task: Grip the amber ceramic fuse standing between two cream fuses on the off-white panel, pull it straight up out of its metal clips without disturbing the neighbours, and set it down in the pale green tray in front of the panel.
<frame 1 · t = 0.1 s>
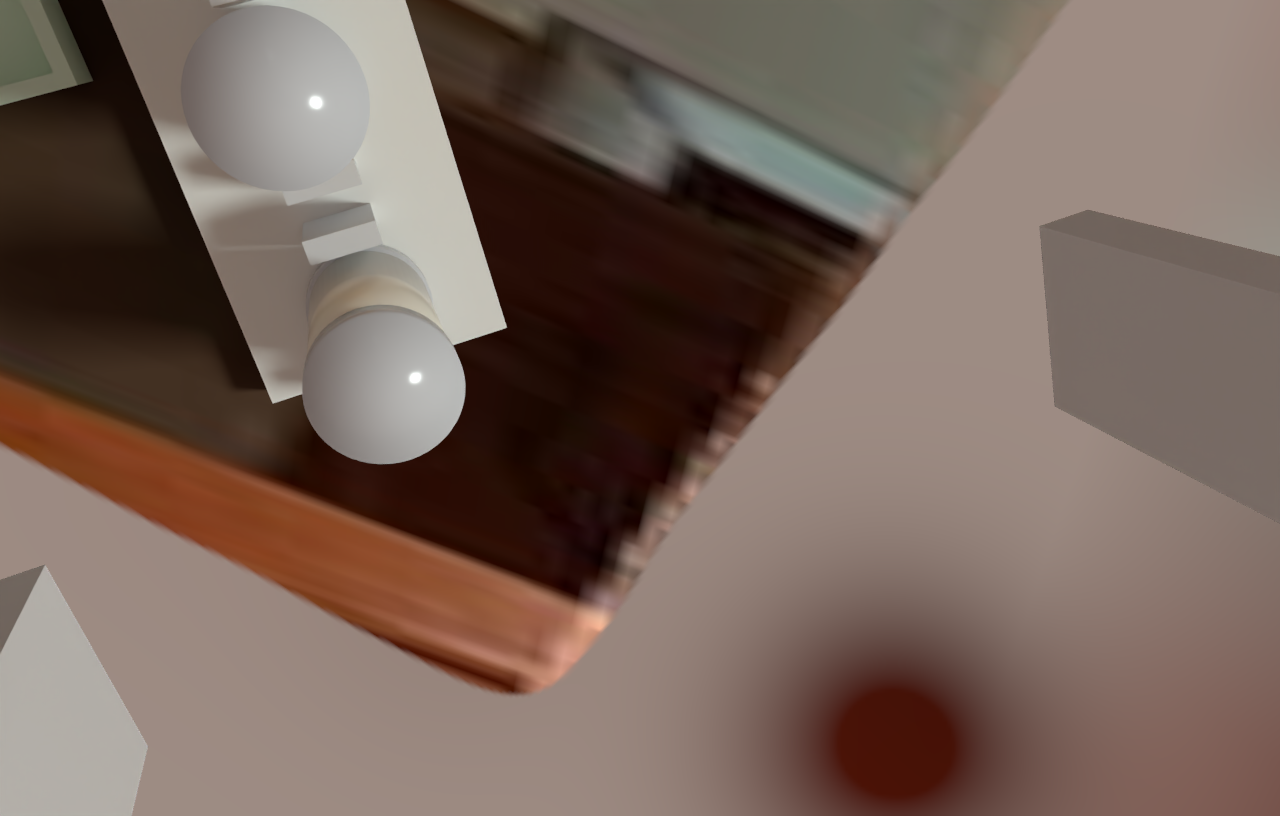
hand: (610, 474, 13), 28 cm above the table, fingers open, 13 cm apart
fuse panel: (289, 78, 36), on the table
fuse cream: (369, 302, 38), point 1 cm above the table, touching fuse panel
fuse amber: (288, 80, 35), point 1 cm above the table, touching fuse panel
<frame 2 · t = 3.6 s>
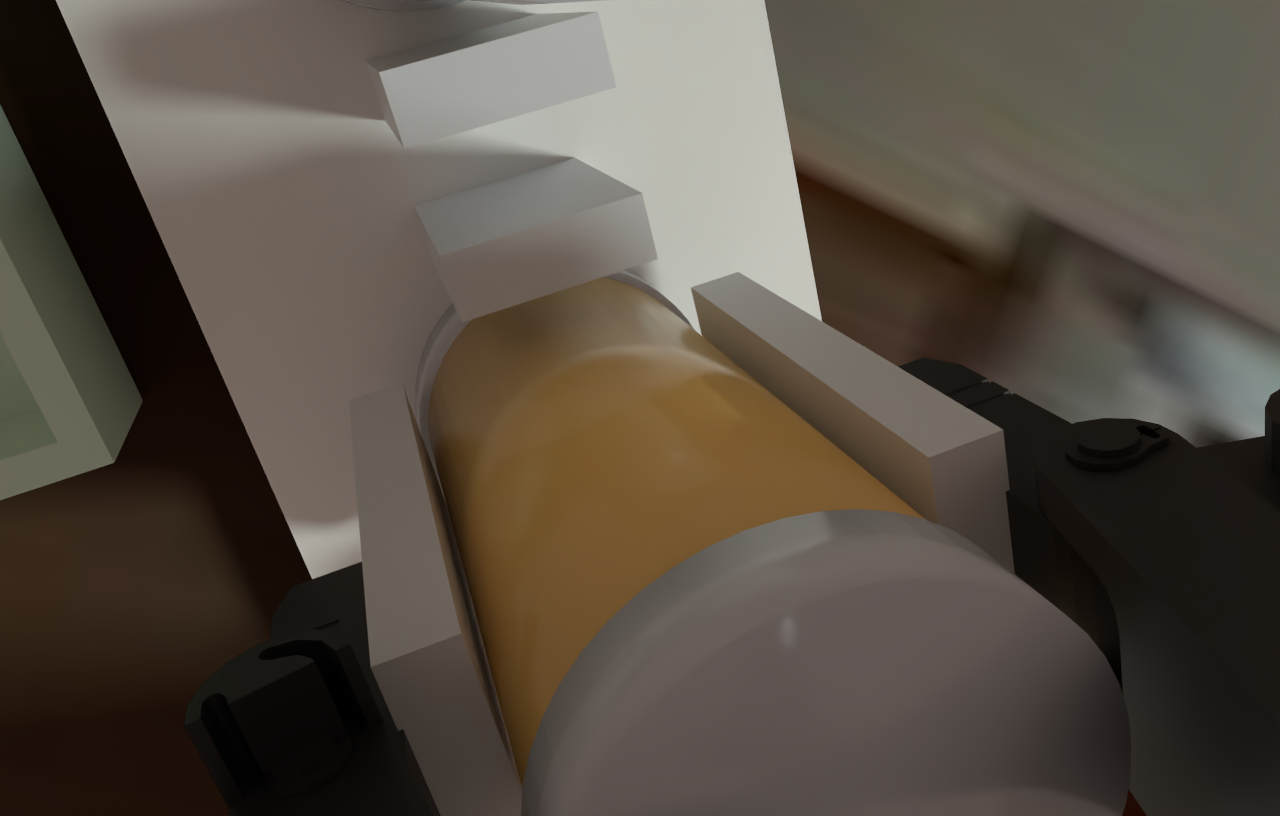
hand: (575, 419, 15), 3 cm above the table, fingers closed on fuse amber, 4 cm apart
fuse panel: (540, 364, 18), on the table
fuse amber: (558, 393, 16), point 2 cm above the table, touching fuse panel, gripper
when the fingers open (3 cm above the table, at t = 11.5 s): fuse amber drops 2 cm, resting on tray.
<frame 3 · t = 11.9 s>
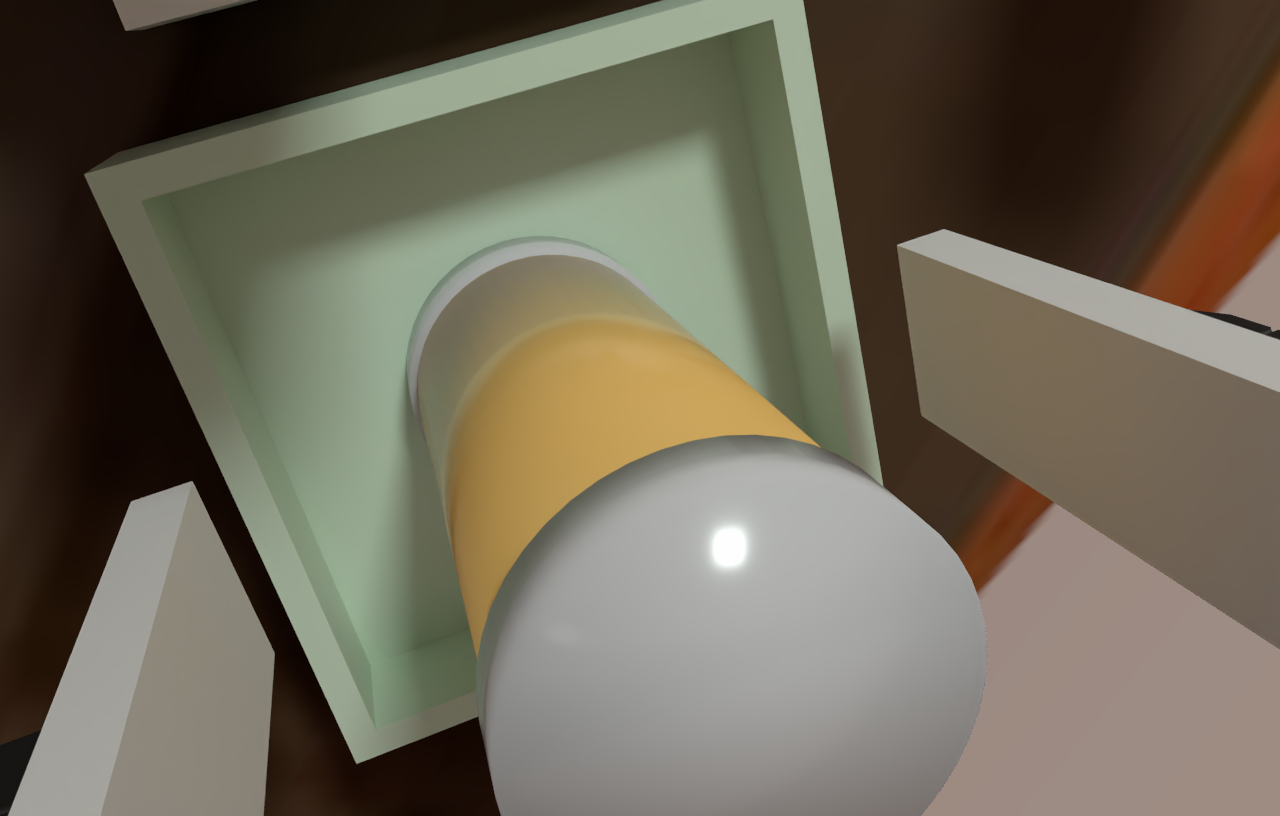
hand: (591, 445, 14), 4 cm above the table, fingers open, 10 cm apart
tray: (531, 351, 18), on the table
fuse amber: (538, 364, 18), point 1 cm above the table, touching tray
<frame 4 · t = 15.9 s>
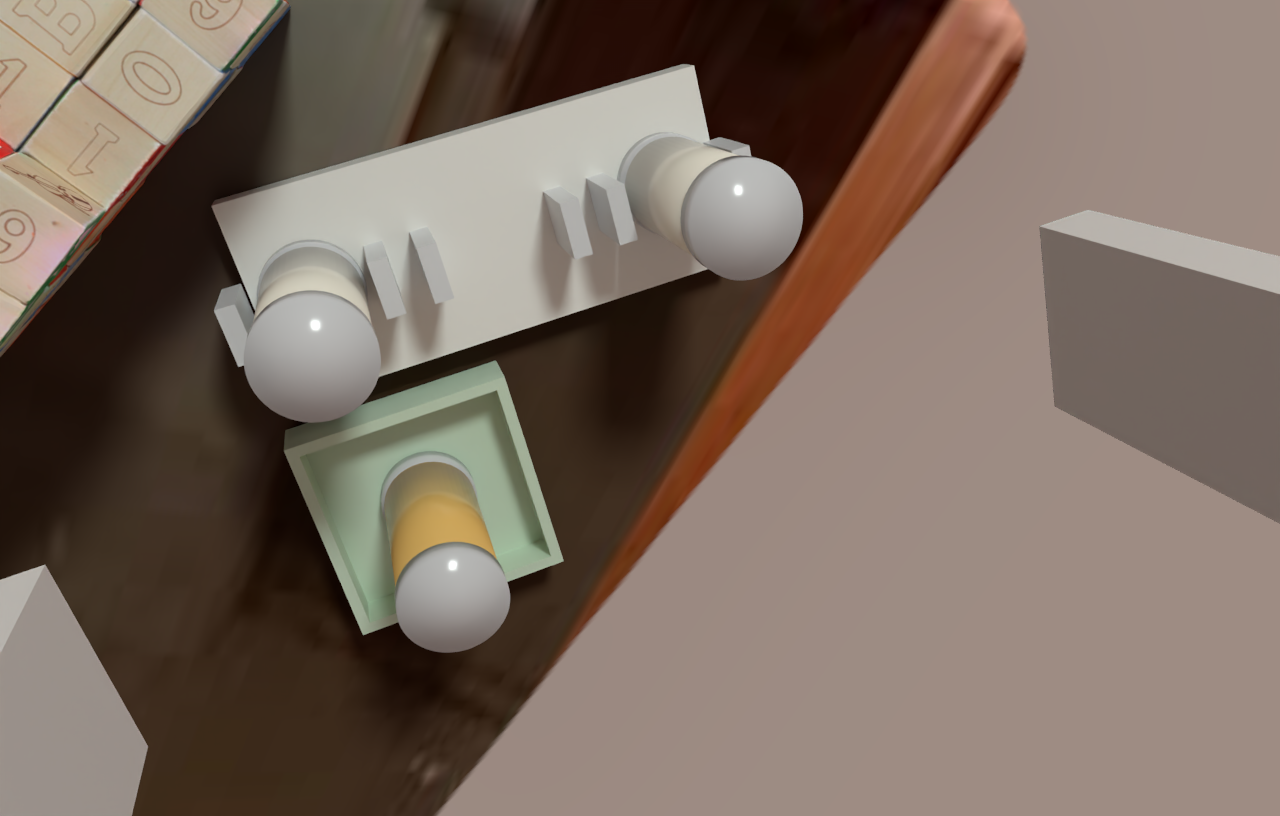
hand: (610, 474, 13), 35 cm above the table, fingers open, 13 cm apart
fuse panel: (488, 229, 47), on the table
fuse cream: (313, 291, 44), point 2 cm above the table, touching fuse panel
stack of blocks: (56, 155, 41), on the table
tray: (426, 487, 50), on the table
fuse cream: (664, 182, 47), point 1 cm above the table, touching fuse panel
fuse amber: (428, 493, 49), point 1 cm above the table, touching tray
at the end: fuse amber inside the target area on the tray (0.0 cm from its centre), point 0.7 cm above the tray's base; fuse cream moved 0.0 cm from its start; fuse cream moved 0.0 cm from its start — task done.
